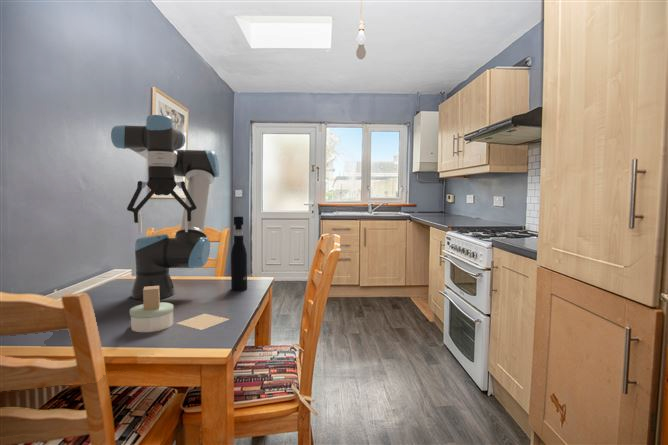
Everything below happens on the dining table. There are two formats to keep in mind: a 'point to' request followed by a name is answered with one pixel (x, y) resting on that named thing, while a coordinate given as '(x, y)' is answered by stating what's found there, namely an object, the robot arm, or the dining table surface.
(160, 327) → the bowl
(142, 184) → the robot arm
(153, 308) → the lid
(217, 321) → the mat
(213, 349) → the dining table surface
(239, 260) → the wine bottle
